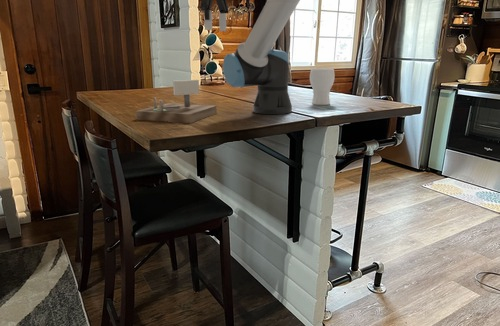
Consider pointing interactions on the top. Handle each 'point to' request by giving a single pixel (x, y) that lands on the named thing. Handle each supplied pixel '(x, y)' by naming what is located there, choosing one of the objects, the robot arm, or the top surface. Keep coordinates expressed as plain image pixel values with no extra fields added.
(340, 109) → the top surface
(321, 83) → the cup
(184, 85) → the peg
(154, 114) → the board
